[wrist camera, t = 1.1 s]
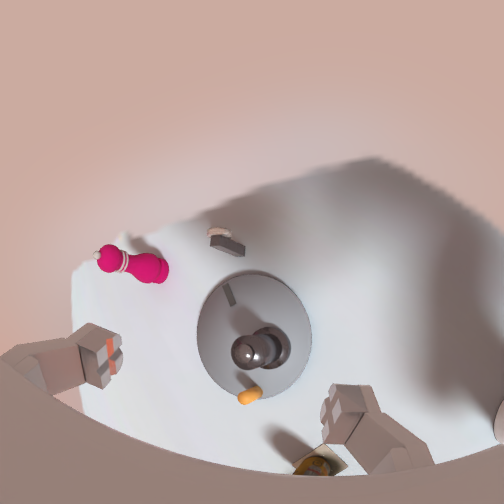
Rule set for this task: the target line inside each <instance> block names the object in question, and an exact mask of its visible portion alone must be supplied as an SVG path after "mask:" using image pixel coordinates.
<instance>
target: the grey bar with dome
mask: <svg viewBox="0 0 504 504" xmlns="http://www.w3.org/2000/svg"><path fill="white" fill-rule="evenodd" d="M207 236H208V237H210V238H211V242H210V246H211V247H213V248H216V249H218V250H221V251H223V252H226V253H228V254H231V255H233V256H236V257H238V256H245V246H243V245H241V244H239V243H237V242H235V241H233V240H231V239H230V238H231V231H230V230H228V229H225V228H217V227H215V228H209V229H208V230H207Z"/></svg>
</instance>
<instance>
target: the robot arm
mask: <svg viewBox="0 0 504 504" xmlns="http://www.w3.org/2000/svg"><path fill="white" fill-rule="evenodd" d="M121 345H122V339H121V336H120V335H119V334H117V333H114V332H112V331H109V330H107V329H104V328H102V327H99V326H97V325H94V324H92V323H87V324H85V325H84V326H83V327H81V328H80V329H79V330H77V331H76V332H75V333H73V334H72V335H70V336H69V337H68V338H66V339H65V338H59V339H53V340H46V341H40V342H33V343H27V344H20V345H16V346H14V347H13V348H12V349H10V350H9V351H7V352H6V353H4V354H3V355H2V356H0V504H504V400H503V401H502V403H501V405H500V407H499V409H498V412H497V415H496V418H495V423H494V434H495V437H496V439H497V441H498V442H499V443H501V444H499V445H496V446H493V447H491V448H488V449H486V450H483V451H480V452H477V453H474V454H471V455H468V456H465V457H462V458H458V459H455V460H451V461H447V462H444V463H440V464H434V461H433V459H432V456H431V454H430V452H429V449H428V447H427V445H426V443H425V442H423V441H422V440H421V439H419V438H418V437H416V436H415V435H414V434H412V433H411V432H410V431H408V430H407V429H406V428H404V427H403V426H402V425H400V424H399V423H398V422H396V421H395V420H394V419H392V418H391V417H390V416H388V415H387V414H386V413H381V410H380V407H379V405H378V402H377V400H376V397H375V395H374V392H373V389H372V387H371V386H370V385H347V384H335V383H333V384H332V385H331V387H330V389H329V391H328V392H329V397H328V398H326V399H325V400H324V402H323V404H322V408H321V412H320V420H321V423H322V424H323V425H324V427H323V429H322V438H323V443H325V444H343V445H344V446H345V447H346V448H347V449H348V451H349V452H350V453H351V454H352V456H353V457H354V458H355V459H356V460H357V462H358V463H359V464H360V465H361V466H362V467H363V469H364V470H365V471H366V472H367V473H368V474H369V475H357V476H303V475H288V474H277V473H268V472H261V471H254V470H247V469H241V468H236V467H230V466H225V465H221V464H216V463H212V462H208V461H204V460H200V459H196V458H192V457H189V456H185V455H182V454H178V453H175V452H172V451H169V450H166V449H163V448H160V447H157V446H154V445H151V444H149V443H146V442H143V441H141V440H138V439H136V438H133V437H131V436H128V435H126V434H124V433H121V432H119V431H117V430H115V429H112V428H110V427H108V426H106V425H104V424H102V423H100V422H98V421H96V420H94V419H92V418H90V417H88V416H86V415H84V414H82V413H80V412H79V411H77V410H75V409H73V408H72V407H70V406H68V405H66V404H64V403H63V402H61V401H60V400H58V399H56V398H55V397H53V395H55V394H58V393H61V392H63V391H66V390H68V389H71V388H74V387H76V386H79V385H81V384H84V383H86V382H87V383H89V384H91V385H94V386H96V387H98V388H100V389H104V388H105V387H106V386H107V384H108V383H109V382H110V381H111V375H114V374H117V373H118V371H119V370H120V368H121V366H122V363H123V353H122V351H121V349H120V348H119V347H120V346H121Z"/></svg>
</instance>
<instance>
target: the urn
mask: <svg viewBox="0 0 504 504" xmlns="http://www.w3.org/2000/svg"><path fill="white" fill-rule="evenodd" d="M290 353H291V343H290V340H289V338H288V336H287V335H286V334H285V332H283V331H282V330H281V329H279V328H276V327H264V328H260V329H258V330H257V331H256V332H254V333H253V335H244V336H240V337H238V338H237V339H236V340H235V341H234V342H233V344H232V347H231V357H232V360H233V362H234V363H235V364H236V366H238V367H239V368H240V369H243V370H253V369H256V368H259V367H260V368H263V369H268V370H270V369H275V368H278V367H280V366H282V365H283V364H284V363H286V361H287V360H288V358H289V356H290Z"/></svg>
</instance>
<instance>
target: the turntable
mask: <svg viewBox="0 0 504 504" xmlns="http://www.w3.org/2000/svg"><path fill="white" fill-rule="evenodd" d="M264 327H276V328H279V329H281V330H282V331H283V332H285V334H286V335H287V336H288V338H289V340H290V343H291V353H290V356H289V358H288V360H287V361H286V363H284V364H283V365H282V366H280V367H278V368H275V369H270V370H268V369H263V368H260V367H259V368H256V369H253V370H243V369H240V368H239V367H238V366H236V364H235V363H234V362H233V360H232V357H231V347H232V344H233V342H234V341H235V340H236V339H237V338H238V337H240V336H244V335H253V333H254V332H256V331H257V330H258V329H260V328H264ZM197 345H198V351H199V355H200V358H201V361H202V363H203V365H204V367H205V369H206V371H207V372H208V374H209V375H210V376H211V378H212V379H213V380H214V381H215V382H216V383H217V384H218V385H219V386H220V387H221V388H223V389H224V390H226V391H227V392H229V393H231V394H233V395H235V396H238V401H239V402H240V403H241V404H243V405H246V404H249V403H250V402H252V401H254V400H256V399H265V398H269V397H273V396H275V395H277V394H279V393H281V392H283V391H284V390H286V389H287V388H289V387H290V386H291V385H292V384H293V383H295V381H296V380H297V379H298V378H299V377H300V375H301V374H302V372H303V370H304V369H305V367H306V364H307V362H308V359H309V356H310V352H311V345H312V333H311V325H310V322H309V318H308V315H307V313H306V310H305V308H304V306H303V305H302V303H301V301H300V300H299V298H298V297H297V296H296V295H295V294H294V293H293V292H292V291H291V290H290V289H289V288H288V287H287V286H285V285H284V284H283V283H281V282H279V281H277V280H275V279H273V278H270V277H267V276H263V275H255V274H249V275H242V276H237V277H235V278H232V279H230V280H228V281H226V282H224V283H223V284H222V285H220V286H219V287H218V288H217V289H216V290H215V291H214V292H213V293H212V294H211V295H210V296H209V298H208V299H207V301H206V303H205V304H204V306H203V308H202V311H201V314H200V317H199V321H198V326H197Z"/></svg>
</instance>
